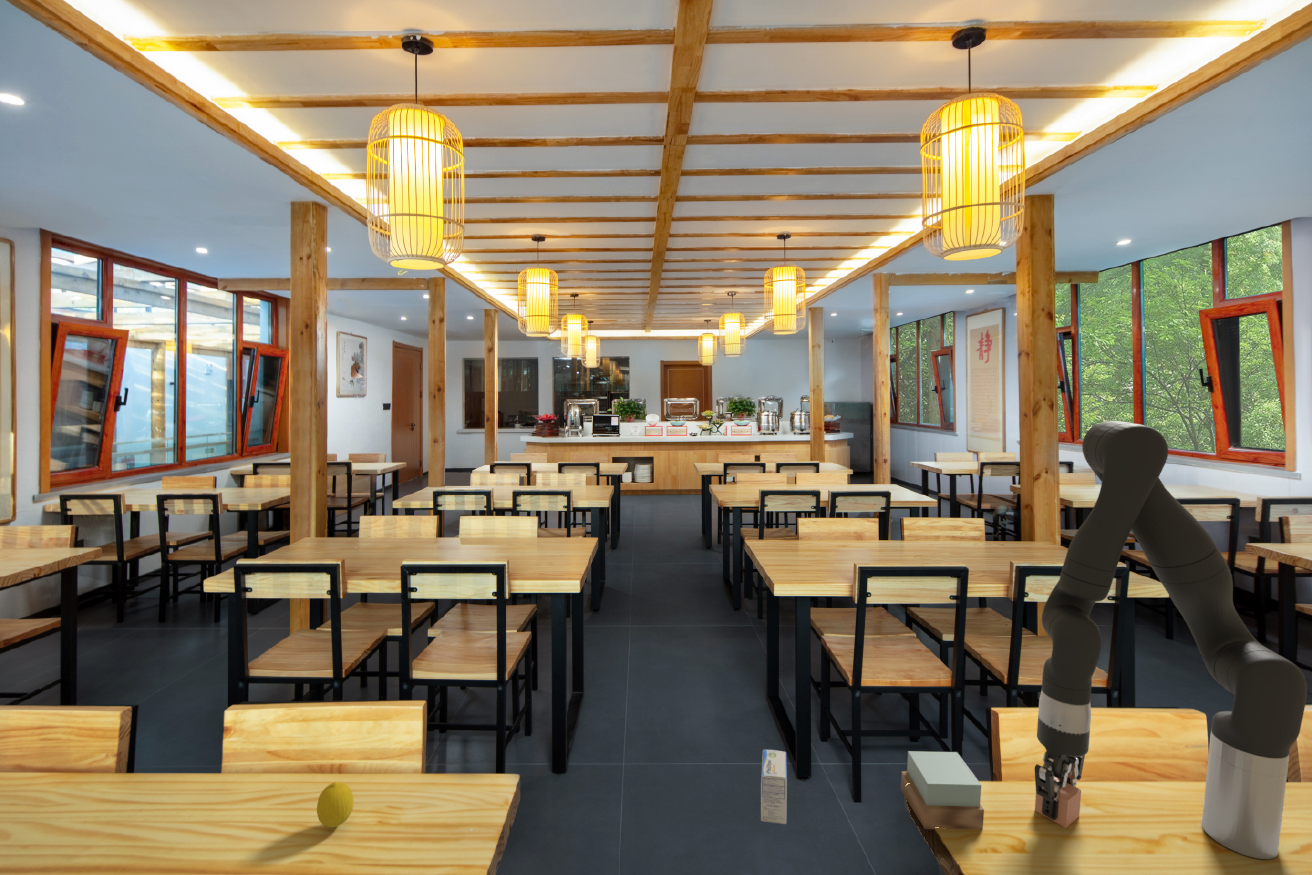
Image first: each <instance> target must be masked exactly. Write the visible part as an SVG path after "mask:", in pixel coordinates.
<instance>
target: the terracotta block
mask: <svg viewBox="0 0 1312 875" xmlns="http://www.w3.org/2000/svg"><path fill="white" fill-rule="evenodd" d="M1054 779H1055V780H1057V781H1059V782H1060V779H1058V778H1056V777H1055V778H1054ZM1054 791H1055V786H1054ZM1081 800H1082V789H1081V788H1078V787H1076V786H1073V785H1071V784H1069V783H1067V782H1066V785H1065V788H1061V792H1060V796H1059V802H1058V816H1057V819H1055V820H1053V819H1051V818H1049V817H1047V816H1045V815H1044V814H1043V813H1042V803H1043V797H1042V796H1040V795H1038V794H1036V793H1035V801H1034V802H1035V803H1034V811H1035V812H1037V813H1038V814H1040V815H1041V816H1043V817H1046V818H1047V819H1049V820H1051V821H1053V822H1054V823H1056V824H1058V825H1059V826H1062V827H1064V828H1065V829H1066V828H1068V827H1069V826H1070V825H1071V824H1072V823H1074V822H1075V821H1076V820H1077V819H1078V818H1079V817H1080V811H1081Z"/></svg>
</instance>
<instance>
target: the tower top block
mask: <svg viewBox="0 0 1312 875" xmlns="http://www.w3.org/2000/svg"><path fill="white" fill-rule="evenodd" d="M906 771H907V772H908V774H909V775H910V777H911V779H912V781H913V782H914V784H915V786H916V788H917V789H918V791H919V793H920V795H921V796H922V798H923V800H924V801H925V803H926V805H927V806H967V807H980V805H981V797H982V784H981V783H980V781H979V780H978V778H977V777H976V775H975V774H974V773H973V772H972V770H971V769H970V767H969V766H968V765H967V763H966V762H965V761H964V760H963V758H962V756H961V755H960V754H959V752H958V751H920V750H919V751H917V750H916V751H915V750H914V751H912V750H910V751H909V750H908V751H907V770H906Z"/></svg>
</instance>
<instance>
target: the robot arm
mask: <svg viewBox="0 0 1312 875" xmlns="http://www.w3.org/2000/svg"><path fill="white" fill-rule="evenodd" d="M1083 437H1084V438H1083V440H1082V445H1081V447H1082V453H1083V456H1084V457H1083V458H1084V459H1085V461H1086V463H1087V465H1088V466H1089V467H1090V469H1091V470H1092V471H1093V473H1094V474H1095V475H1096V476H1097V478H1098V479H1099V481H1100V483H1101V485H1100V490H1099V492H1098V493H1099V494H1098V496H1097V499H1096V501H1095V503H1094V506H1093V508H1092V510H1091V511H1090V513H1089V514H1088V516H1087V517H1086V518H1085V519H1084V521H1083V523H1082V524H1081V525H1080V527H1079V528H1078V530H1077V531H1076V533H1075V534H1074V535H1073V538H1072V539H1071V542H1070V543H1069V545H1068V549H1067V552H1066V554H1065V559H1064V561H1063V565H1062V569H1061V572H1060V576H1059V580H1058V581H1057V583H1056V584H1055V586H1054V587H1053V589H1052V590H1051V593H1050V594H1049V596H1048V598H1047V600H1046V602H1045V604H1044V607H1043V610H1042V614H1041V615H1042V616H1041V624H1042V627H1043V630H1044V631H1045V633H1046V634H1047V635H1048V636H1049V638H1050V639H1051V640H1052V642H1051V643H1052V651H1051V657H1049V658H1047V659H1046V660H1045V661H1044V664H1043V668H1042V682H1041V691H1040V695H1039V699H1038V700H1039V701H1038V714H1037V726H1036V727H1037V728H1036V729H1037V730H1036V738H1037V740H1038V742H1039V743H1040V744H1041V745H1042V746H1043V747H1044V749H1045V751H1044V753H1043V757H1042V761H1043V765H1040V764H1037V763H1036V764H1035V766H1034V777H1035V778H1034V780H1035V781H1034V783H1035V795H1036V794H1038V795H1040V796H1042V797H1043V803H1042V813H1043V814H1044V815H1045V816H1047V817H1049V818H1051V819H1053V820H1055V819H1057V816H1058V802H1059V796H1060V792H1061V788H1065V785H1066V782H1067V783H1069V784H1071V785H1073V786H1075V787H1076V786H1077V781H1080V780H1081V779H1082V774H1083V768H1084V764H1085V758H1086V755H1087V754H1088V752H1089V745H1090V738H1091V737H1090V734H1091V722H1092V707H1091V696H1092V686H1093V685H1092V682H1093V680H1092V679H1093V675H1094V673H1095V671H1096V669H1097V666H1098V662H1099V659H1100V656H1101V653H1102V645H1103V644H1102V643H1103V642H1102V641H1103V640H1102V634H1101V631H1100V628H1099V626H1098V625H1097V624H1096V622H1095V621H1094V620H1092V619H1091V617H1090V616H1091V612H1092V610H1093V607H1094V606H1095V603H1096V602H1103V601H1104V600H1105V599H1106V598H1107V597H1108V595H1109V593H1110V590H1111V587H1112V584H1113V582H1114V579H1115V575H1116V571H1117V567H1118V566H1119V565H1118V564H1119V562H1120V558H1121V555H1122V553H1123V550H1124V548H1125V545H1126V542H1127V540H1128V537H1129V535H1130V533H1131V532H1132V533H1133V535H1134V537H1135V540H1137V543H1138V545H1139V546H1140V548H1141V550H1142V551H1143V554H1144V556H1145V558H1146V560H1147V561H1148V563H1149V565H1150V566H1151V568H1152V570H1153V571H1154V573H1155V575H1156V577H1157V579H1158V580H1159V581H1160V583H1161V584H1162V586H1163V587H1164V589H1165V590H1166V592H1167V594H1168V596H1169V597H1170V599H1171V601H1172V602H1173V605H1174V606H1175V608H1176V609H1177V610H1178V612H1179V613H1180V614H1181V616H1182V617H1183V620H1184V621H1185V623H1186V624H1187V627H1188V628H1189V630H1190V633H1191V635H1192V637H1193V639H1194V641H1195V644H1196V645H1197V648H1198V651H1199V653H1200V656H1201V658H1202V661H1203V662H1204V664H1205V667H1206V669H1207V671H1208V673H1209V674H1210V676H1211V677H1212V678H1213V679H1214V680H1215V681H1216V682H1217V684H1219V685H1220V686H1221V687H1222V688H1224V689H1225V690H1226V691H1228V692H1229V693H1231V694H1233V695H1234V698H1233V704H1232V710H1224V711H1218V712H1216V713H1214V715H1213V716H1212V719H1211V728H1210V735H1209V736H1210V737H1209V748H1208V757H1207V758H1208V759H1207V760H1208V761H1207V768H1206V776H1205V777H1206V779H1205V788H1204V789H1205V790H1204V798H1203V808H1202V815H1201V816H1202V818H1201V827H1202V829H1203V831H1205V833H1206V834H1207V835H1208V836H1209V837H1210V838H1212V840H1214V841H1215V842H1217V843H1218V844H1220V845H1221V846H1224V847H1226V848H1227V849H1229V850H1232V851H1233V852H1236V853H1238V854H1241V855H1243V856H1247V857H1250V858H1254V859H1261V860H1271V859H1274V858H1276V857H1277V856H1278V855H1279V846H1280V837H1281V830H1282V823H1283V812H1284V804H1285V798H1286V797H1285V794H1286V785H1287V779H1288V768H1289V760H1290V751H1291V747H1292V746H1293V744H1294V743H1295V742H1296V740H1298V737H1299V735H1300V732H1301V727H1302V722H1303V717H1304V713H1305V708H1306V703H1307V696H1308V694H1307V693H1308V686H1307V681H1306V677H1305V675H1304V673H1303V671H1302V670H1301V668H1300V667H1299V666H1298V665H1296V664H1294V663H1293V662H1292V661H1290V660H1289V659H1287V658H1285V657H1284V656H1282V655H1280V654H1278V653H1276V652H1275V651H1273V650H1271V649H1269V648H1267V647H1266V646H1264V645H1262V644H1261V643H1260V642H1259V641H1258V640H1257V639H1256V637H1254V635H1253V634H1252V633H1251V632H1250V631H1249V629H1248V628H1247V625H1246V624H1245V623H1244V621H1243V619H1242V618H1241V617H1240V615H1239V613H1238V612H1237V610H1236V608H1235V605H1234V599H1233V594H1234V593H1233V592H1234V582H1233V576H1232V573H1231V569H1230V567H1229V565H1228V563H1227V561H1226V560H1225V558H1224V556H1223V554H1222V553H1221V551H1220V549H1219V548H1218V546H1217V544H1216V542H1215V541H1214V539H1213V538H1212V536H1211V534H1209V533H1208V532H1209V531H1207V530H1206V529H1205V527H1204V526H1203V524H1201V523H1200V522H1199V520H1198V519H1196V518H1195V517H1194V516H1193V514H1191V513H1190V511H1189V510H1187V509H1186V508H1185V506H1183V505H1182V503H1180V502H1179V501H1178V500H1177V499H1176V498H1175V497H1174V496H1173V495H1172V494H1171V493H1170V492H1169V490H1167V488H1166V486H1165V485H1164V484H1163V482H1162V481H1161V479H1160V475H1161V473H1162V472H1163V469H1164V467H1165V465H1166V463H1167V459H1168V456H1169V444H1168V442H1167V440H1166V438H1165V437H1164V435H1162V433H1161V432H1160V431H1158V430H1157V429H1155V428H1152V427H1151V426H1148V425H1146V424H1145V425H1144V424H1139V423H1134V422H1128V421H1122V420H1121V421H1120V420H1107V421H1101V422H1099V423H1096V424H1094V425H1093V426H1092V427H1091V428H1089V429H1088V430H1087V432H1086V433H1085V435H1084V436H1083ZM1055 777H1056V778H1058V779H1060V782H1059V781H1057V780H1055V779H1054V778H1055ZM1054 786H1055V791H1054ZM1044 815H1043V816H1044ZM1045 816H1044V817H1045ZM1047 817H1046V818H1047ZM1049 818H1048V819H1049ZM1051 819H1050V820H1051Z"/></svg>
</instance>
